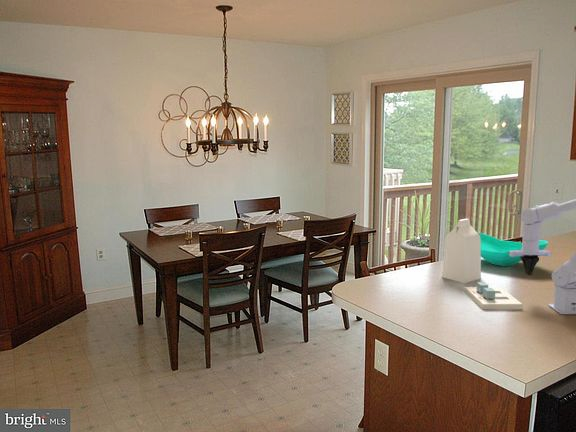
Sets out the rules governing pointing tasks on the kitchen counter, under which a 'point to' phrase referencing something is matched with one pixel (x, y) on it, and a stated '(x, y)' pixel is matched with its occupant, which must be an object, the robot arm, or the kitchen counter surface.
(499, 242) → the table top decor
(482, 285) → the tab
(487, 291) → the tab
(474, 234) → the milk
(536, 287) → the kitchen counter surface
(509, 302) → the switch panel
